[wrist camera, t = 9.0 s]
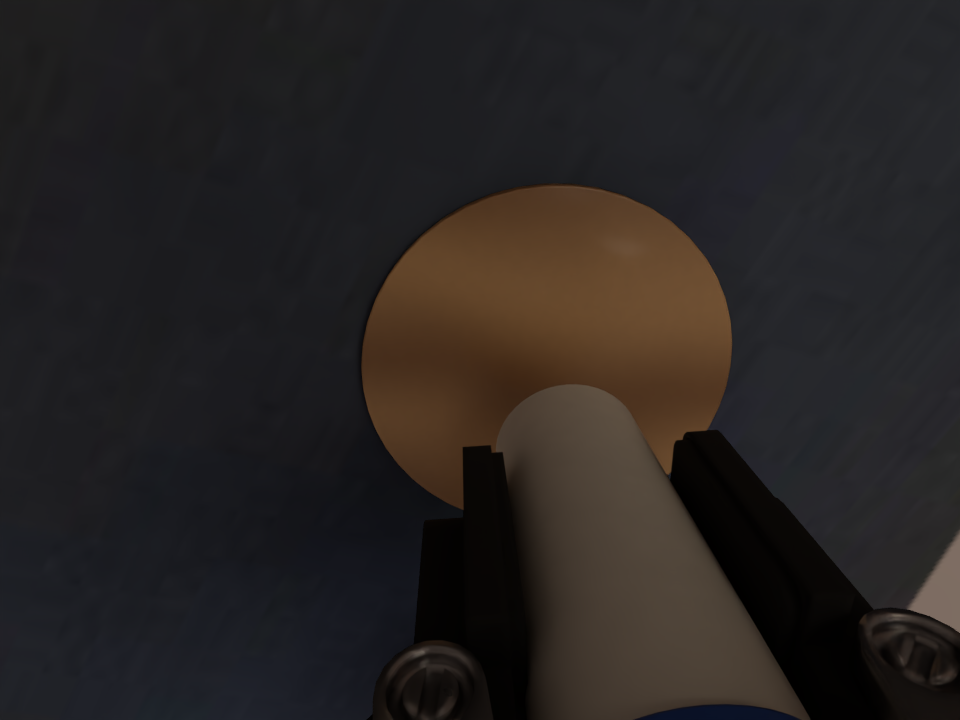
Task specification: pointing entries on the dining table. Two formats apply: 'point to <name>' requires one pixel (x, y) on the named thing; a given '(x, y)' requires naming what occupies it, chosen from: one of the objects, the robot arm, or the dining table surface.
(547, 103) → the dining table surface
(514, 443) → the marker
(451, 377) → the coaster
